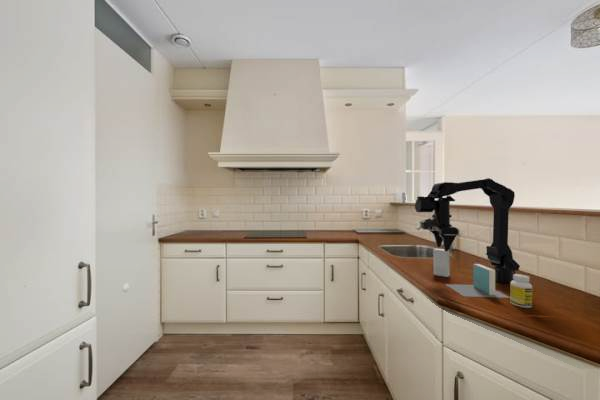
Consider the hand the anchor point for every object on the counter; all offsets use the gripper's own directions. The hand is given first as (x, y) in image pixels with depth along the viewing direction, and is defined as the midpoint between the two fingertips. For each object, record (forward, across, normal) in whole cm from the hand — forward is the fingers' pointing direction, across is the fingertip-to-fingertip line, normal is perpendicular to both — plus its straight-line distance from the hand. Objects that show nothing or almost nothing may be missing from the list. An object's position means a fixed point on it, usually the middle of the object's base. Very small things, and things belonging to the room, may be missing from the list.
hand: (442, 248), depth 106 cm
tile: (+14, +9, +11) cm, 20 cm away
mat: (+14, +10, +8) cm, 19 cm away
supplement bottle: (+14, +20, +17) cm, 30 cm away
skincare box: (+14, -10, +2) cm, 17 cm away
